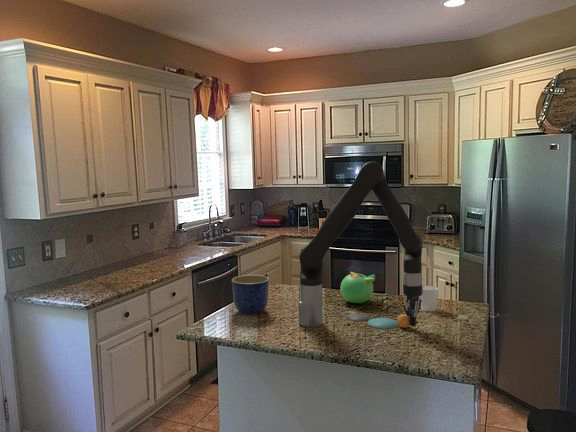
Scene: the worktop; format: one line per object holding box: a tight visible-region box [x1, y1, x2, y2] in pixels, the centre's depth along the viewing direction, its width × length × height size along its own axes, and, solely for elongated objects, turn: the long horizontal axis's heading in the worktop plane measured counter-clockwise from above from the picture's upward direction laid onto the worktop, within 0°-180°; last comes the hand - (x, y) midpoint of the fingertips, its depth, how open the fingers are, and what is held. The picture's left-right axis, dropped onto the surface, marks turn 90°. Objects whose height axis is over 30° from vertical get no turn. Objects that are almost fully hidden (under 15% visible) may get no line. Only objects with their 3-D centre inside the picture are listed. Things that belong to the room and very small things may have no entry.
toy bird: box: [340, 271, 376, 304], centre depth 227 cm, size 18×17×15 cm
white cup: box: [420, 285, 439, 312], centre depth 214 cm, size 8×8×10 cm
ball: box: [396, 313, 411, 329], centre depth 191 cm, size 6×6×6 cm
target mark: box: [367, 317, 400, 330], centre depth 196 cm, size 13×13×1 cm
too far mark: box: [347, 314, 370, 323], centre depth 204 cm, size 9×9×1 cm
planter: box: [231, 274, 270, 315], centre depth 214 cm, size 17×17×15 cm
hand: (412, 325), depth 188 cm, fingers closed
